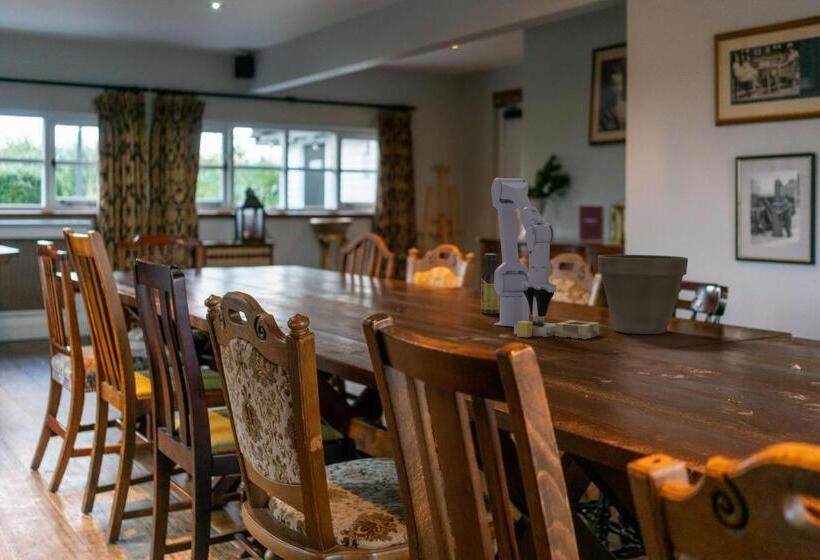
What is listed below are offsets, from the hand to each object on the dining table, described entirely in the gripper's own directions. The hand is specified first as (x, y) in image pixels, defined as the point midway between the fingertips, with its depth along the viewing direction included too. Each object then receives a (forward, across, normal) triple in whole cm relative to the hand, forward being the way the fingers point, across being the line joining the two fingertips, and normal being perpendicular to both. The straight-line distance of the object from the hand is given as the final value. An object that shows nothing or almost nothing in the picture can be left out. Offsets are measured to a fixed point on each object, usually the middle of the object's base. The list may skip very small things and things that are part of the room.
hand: (538, 315), depth 267 cm
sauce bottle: (+6, -47, +12) cm, 49 cm away
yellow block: (+5, +3, -6) cm, 9 cm away
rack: (+5, +9, +7) cm, 12 cm away
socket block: (+5, 0, 0) cm, 5 cm away
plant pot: (+5, +9, +29) cm, 31 cm away
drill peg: (+3, 0, 0) cm, 3 cm away
